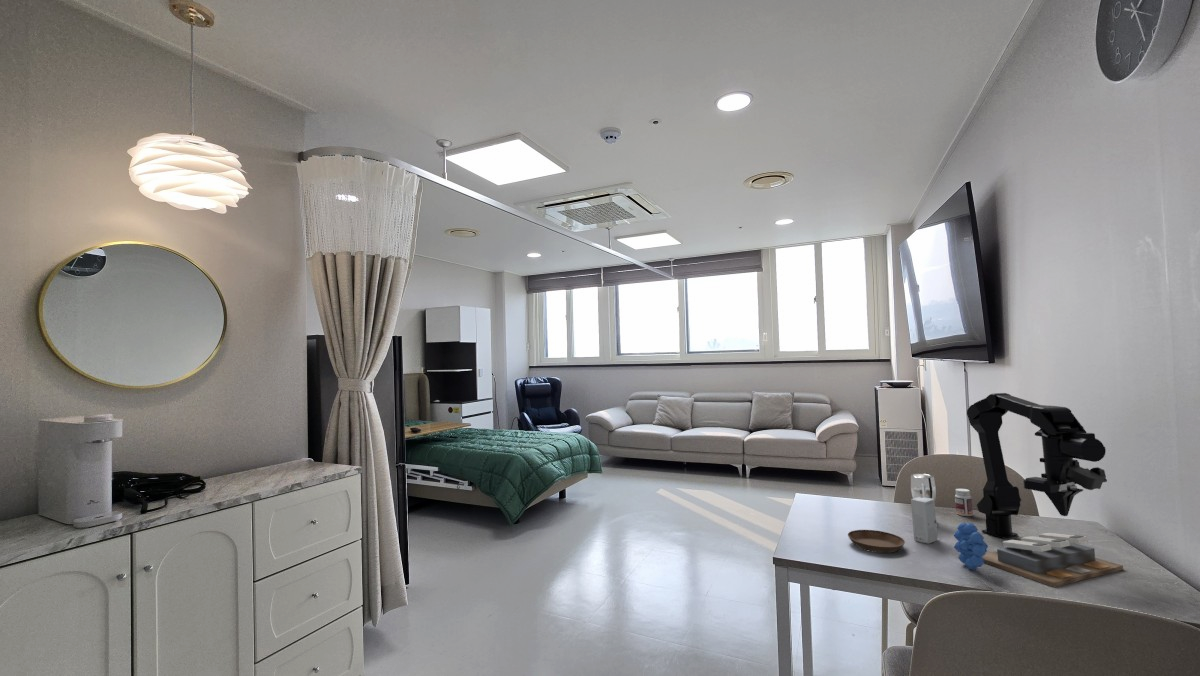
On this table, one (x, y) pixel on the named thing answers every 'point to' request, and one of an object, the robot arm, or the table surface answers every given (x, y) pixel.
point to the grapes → (970, 545)
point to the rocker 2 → (1065, 537)
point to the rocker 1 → (1027, 545)
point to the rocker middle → (1047, 541)
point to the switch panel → (1051, 578)
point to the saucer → (876, 540)
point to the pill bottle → (963, 502)
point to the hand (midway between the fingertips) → (1064, 515)
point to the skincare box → (924, 520)
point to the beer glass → (923, 486)
